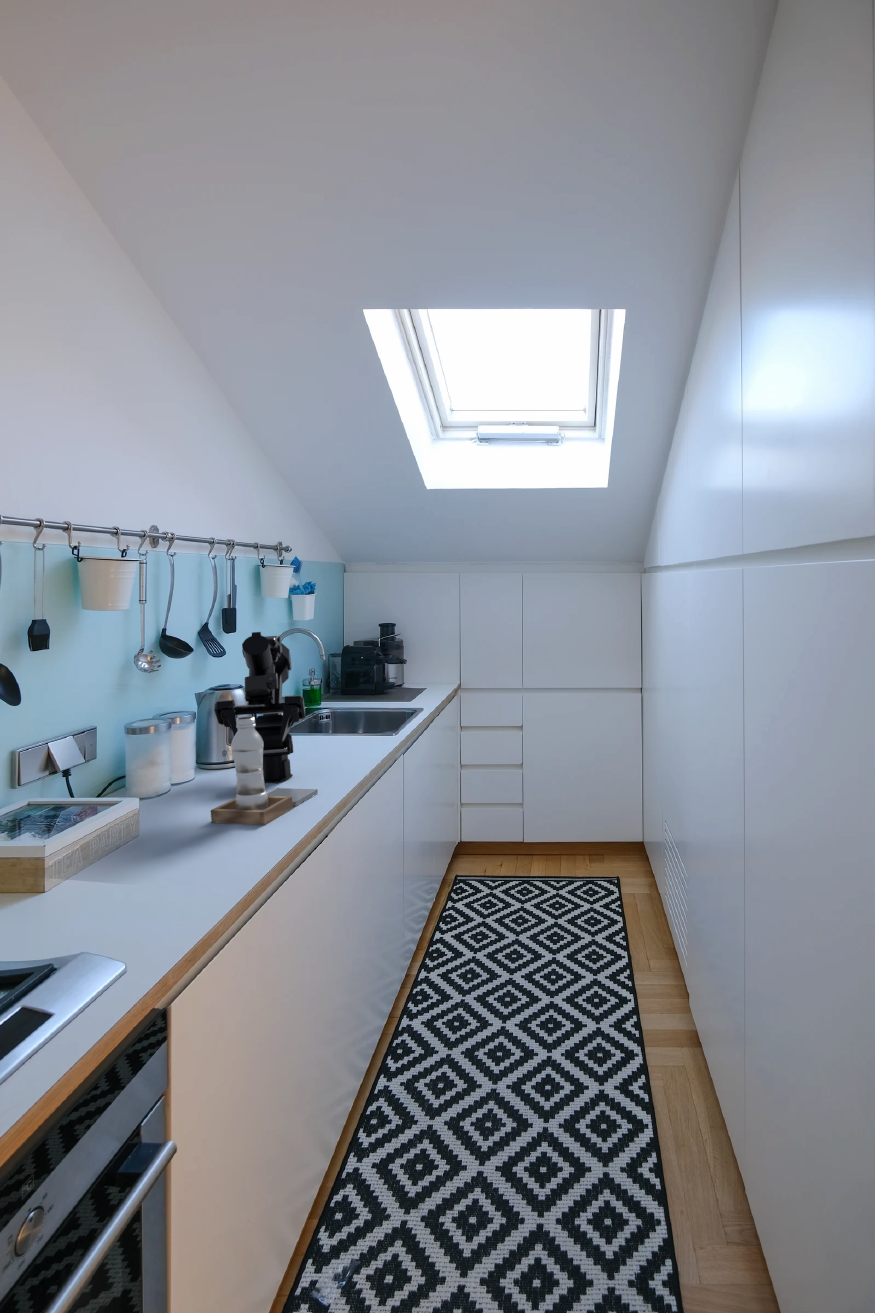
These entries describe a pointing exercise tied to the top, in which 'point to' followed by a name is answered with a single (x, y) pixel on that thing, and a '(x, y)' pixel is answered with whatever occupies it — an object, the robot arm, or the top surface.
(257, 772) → the plastic bottle
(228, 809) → the walnut collar
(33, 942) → the top surface
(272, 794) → the slate pad
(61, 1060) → the top surface
